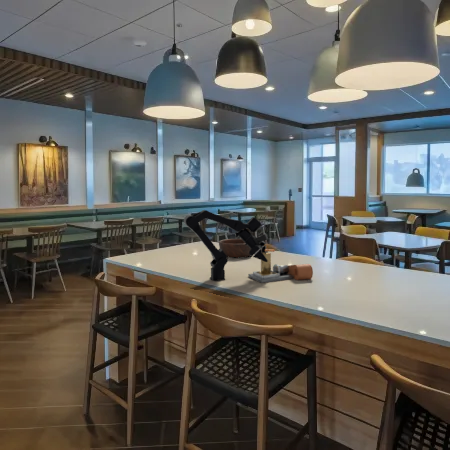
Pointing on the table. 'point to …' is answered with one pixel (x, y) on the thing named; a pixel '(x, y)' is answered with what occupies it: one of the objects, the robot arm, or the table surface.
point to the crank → (301, 271)
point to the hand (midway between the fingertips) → (268, 259)
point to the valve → (266, 264)
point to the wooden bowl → (234, 248)
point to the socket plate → (277, 275)
